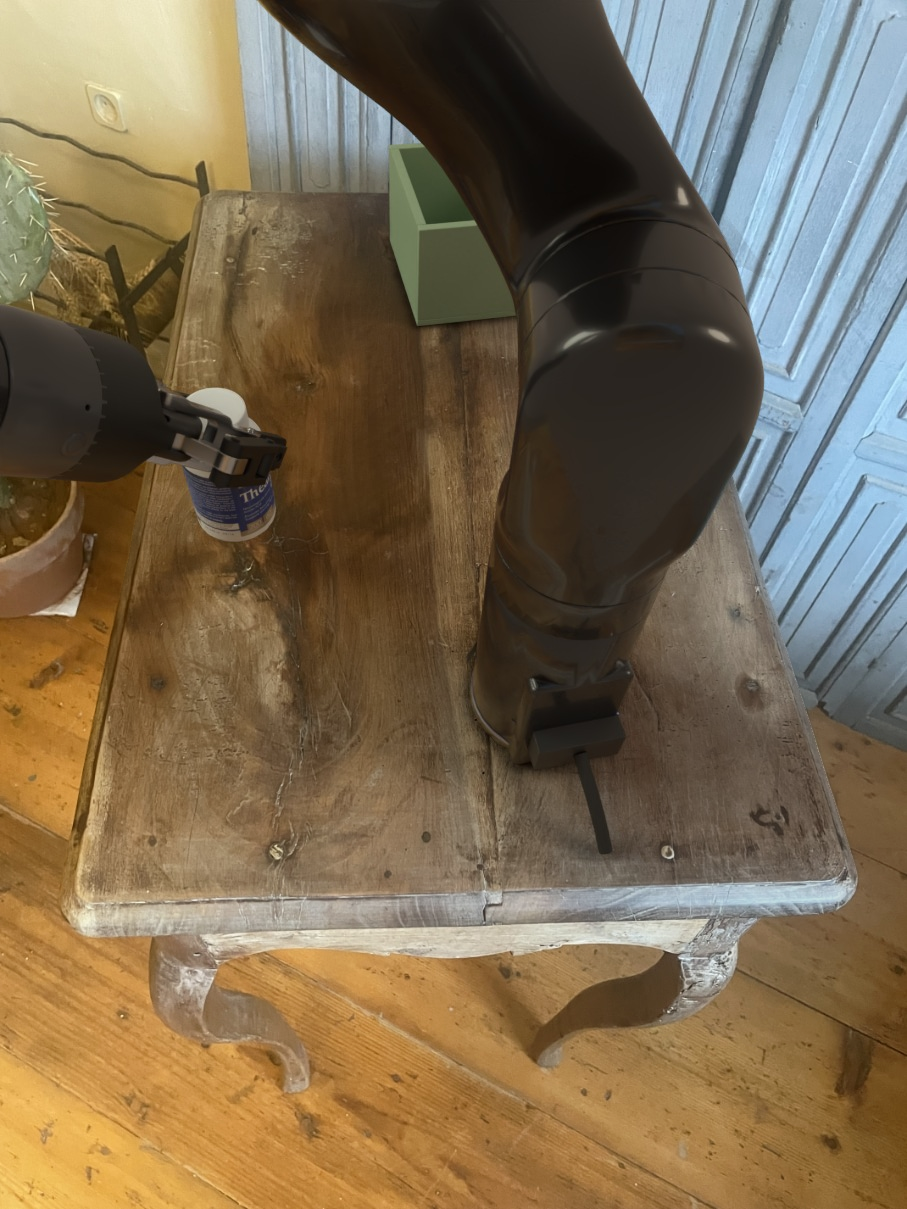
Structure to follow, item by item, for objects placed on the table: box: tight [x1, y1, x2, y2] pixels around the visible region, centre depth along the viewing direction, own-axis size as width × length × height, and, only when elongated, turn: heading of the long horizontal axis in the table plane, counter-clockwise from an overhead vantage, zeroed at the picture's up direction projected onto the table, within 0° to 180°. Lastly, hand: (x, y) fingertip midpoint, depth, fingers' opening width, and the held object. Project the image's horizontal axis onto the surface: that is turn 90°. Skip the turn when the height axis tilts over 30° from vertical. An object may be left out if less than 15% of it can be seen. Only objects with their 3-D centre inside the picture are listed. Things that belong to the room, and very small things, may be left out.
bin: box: [388, 142, 516, 327], centre depth 80 cm, size 14×13×10 cm
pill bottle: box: [181, 387, 277, 543], centre depth 56 cm, size 5×5×10 cm
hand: (240, 434), depth 56 cm, fingers closed on pill bottle, 5 cm apart
